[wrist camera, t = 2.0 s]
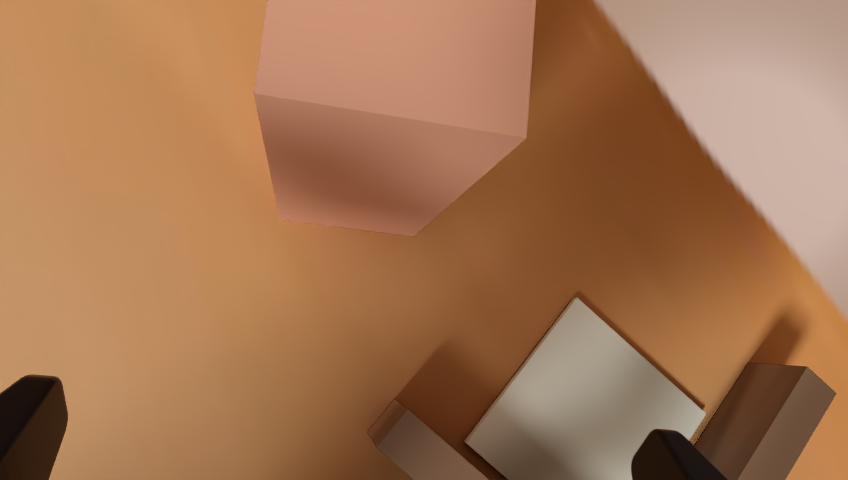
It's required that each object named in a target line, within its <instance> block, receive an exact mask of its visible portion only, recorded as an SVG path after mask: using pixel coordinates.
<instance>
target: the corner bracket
mask: <svg viewBox="0 0 848 480" xmlns="http://www.w3.org/2000/svg"><path fill="white" fill-rule="evenodd" d="M836 394H837V393H836V392H834V391H833V390H832V389H831V388H830V387H829V386H828V385H827V384H826V383H825V382H824V381H822V380H821V379H820V378H819V377H818V376H817V375H816V374H815V373H814V372H813V371H812V370H810V369H809V368H808V367H805V366H790V365H775V364H761V363H748V364H747V366H746V367H745V369H744V370H743V372H742V373H741V375H740V376H739V378H738V379H737V381H736V383H735V384H734V386H733V387H732V389H731V390H730V392H729V393H728V395H727V396H726V398H725V399H724V401H723V403H722V404H721V406H720V407H719V409H718V410H717V412H716V413H715V415H714V416H713V418H712V419H711V421H710V423H709V424H708V426H707V427H706V429H705V430H704V432H703V433H702V435H701V436H700V438H699V439H698V441H697V443H696V444H695V447H696V448H697V449H698V450H699V451H700V452H701V453H702V454H703V455H704V456H705V457H706V458H707V459H708V460H709V461H710V462H711V463H712V464H713V465H714V466H715V467H716V468H717V469H718V470H719V471H720V472H721V473H722V474H723V475H724V476H725V477H726V478H727V479H728V480H785V479H786V478H787V476H788V474H789V473H790V471H791V469H792V468H793V466H794V464H795V463H796V461H797V459H798V457H799V456H800V454H801V452H802V451H803V449H804V447H805V446H806V444H807V442H808V441H809V439H810V437H811V436H812V434H813V432H814V431H815V429H816V427H817V426H818V424H819V422H820V420H821V419H822V417H823V415H824V414H825V412H826V410H827V409H828V407H829V405H830V404H831V402H832V400H833V399H834V397H835V395H836ZM705 415H706V413H705V412H704V411H703V410H702V409H700V408H699V407H698V406H697V405H696V404H695V403H694V402H693V401H692V400H690V399H689V398H688V397H687V396H686V395H685V394H684V393H683V392H682V391H680V390H679V389H678V388H677V387H676V386H675V385H674V384H673V383H672V382H670V381H669V380H668V379H667V378H666V377H665V376H664V375H663V374H662V373H660V372H659V371H658V370H657V369H656V368H655V367H654V366H653V365H652V364H650V363H649V362H648V361H647V360H646V359H645V358H644V357H643V356H642V355H640V354H639V353H638V352H637V351H636V350H635V349H634V348H633V347H632V346H630V345H629V344H628V343H627V342H626V341H625V340H624V339H623V338H622V337H620V336H619V335H618V334H617V333H616V332H615V331H614V330H613V329H612V328H610V327H609V326H608V325H607V324H606V323H605V322H604V321H603V320H602V319H600V318H599V317H598V316H597V315H596V314H595V313H594V312H593V311H592V310H590V309H589V308H588V307H587V306H586V305H585V304H584V303H583V302H582V301H580V300H579V299H578V298H577V297H576V298H573V299H572V301H571V302H570V303H569V305H568V306H567V307H566V308H565V310H564V311H563V312H562V314H561V315H560V316H559V318H558V319H557V320H556V322H555V323H554V324H553V325H552V327H551V328H550V329H549V331H548V332H547V333H546V335H545V336H544V337H543V339H542V340H541V341H540V342H539V344H538V345H537V346H536V348H535V349H534V350H533V352H532V353H531V354H530V356H529V357H528V358H527V359H526V361H525V362H524V363H523V365H522V366H521V367H520V369H519V370H518V371H517V373H516V374H515V375H514V376H513V378H512V379H511V380H510V382H509V383H508V384H507V386H506V387H505V388H504V390H503V391H502V392H501V393H500V395H499V396H498V397H497V399H496V400H495V401H494V403H493V404H492V405H491V407H490V408H489V409H488V410H487V412H486V413H485V414H484V416H483V417H482V418H481V420H480V421H479V422H478V424H477V425H476V426H475V427H474V429H473V430H472V431H471V433H470V434H469V435H468V437H467V438H466V439H465V441H464V442H465V443H466V444H467V445H469V446H470V447H471V448H472V449H473V450H474V451H475V452H477V453H478V454H479V455H480V456H481V457H482V458H483V459H485V460H486V461H487V462H488V463H489V464H490V465H491V466H493V467H494V468H495V469H496V470H497V471H498V472H499V473H501V474H502V475H503V476H504V477H505V478H506V479H507V480H633V479H632V474H631V462H632V459H633V456H634V454H635V453H636V452H637V450H638V449H639V447H640V446H641V444H642V443H643V441H644V440H645V438H646V437H647V436H648V434H649V433H650V432H651V431H652V430H654V429H667V430H675V431H678V432H680V433H681V434H682V435H683V436H685V437H686V438H687V439H688V440H690V438H691V437H692V435H693V434H694V432H695V431H696V429H697V427H698V426H699V424H700V423H701V421H702V420H703V418H704V417H705ZM367 433H368V435H369V437H370V438H371V440H372V441H373V443H374V444H375V446H376V448H377V449H378V450H380V451H381V452H382V453H383V454H384V455H385V456H387V457H388V458H389V459H390V460H391V461H392V462H393V463H395V464H396V465H397V466H398V467H399V468H400V469H402V470H403V471H404V472H405V473H406V474H407V475H408V476H410V477H411V478H412V479H413V480H489V479H487V478H486V477H485V476H484V475H483V474H482V473H480V472H479V471H478V470H477V469H476V468H475V467H474V466H472V465H471V464H470V463H469V462H468V461H467V460H466V459H464V458H463V457H462V456H461V455H460V454H459V453H458V452H456V451H455V450H454V449H453V448H452V447H451V446H450V445H448V444H447V443H446V442H445V441H444V440H443V439H442V438H440V437H439V436H438V435H437V434H436V433H435V432H433V431H432V430H431V429H430V428H429V427H428V426H427V425H425V424H424V423H423V422H422V421H421V420H420V419H419V418H417V417H416V416H415V415H414V414H413V413H412V412H411V411H409V410H408V409H407V408H406V407H404V406H403V405H402V404H400V403H399V402H397V401H396V400H395V399H394V400H393V401H392V402H391V403H390V405H389V406H388V407H387V408H386V410H385V411H384V412H383V413H382V414H381V416H380V417H379V418H378V419H377V421H376V422H375V423H374V424H373V426H372V427H371V428H370V429H369V430H368V432H367Z"/></svg>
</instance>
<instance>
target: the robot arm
mask: <svg viewBox="0 0 848 480" xmlns="http://www.w3.org/2000/svg"><path fill="white" fill-rule="evenodd" d="M67 422H68V411H67V406H66V401H65V396H64V391H63V385H62V382H61V380H60V379H59V378H58V377H55V376H44V375H27V376H24V377H22V378H21V379H19V380H18V381H16V382H15V383H14V384H12V385H11V386H10V387H8V388H7V389H6V390H4V391H3V392H2V393H0V480H49V477H50V474H51V471H52V468H53V465H54V462H55V460H56V457H57V454H58V451H59V448H60V445H61V442H62V440H63V437H64V434H65V431H66V427H67ZM631 474H632V479H633V480H728V479H727V478H726V477H725V476H724V475H723V474H722V473H721V472H720V471H719V470H718V469H717V468H716V467H715V466H714V465H713V464H712V463H711V462H710V461H709V460H708V459H707V458H706V457H705V456H704V455H703V454H702V453H701V452H700V451H699V450H698V449H697V448H696V447H695V446H694V445H693V444H692V443H691V442H690V441H689V440H688V439H687V438H686V437H685V436H683V435H682V434H681V433H680V432H678V431H675V430H667V429H654V430H652V431H651V432H650V433H649V434H648V436H647V437H646V438H645V440H644V441H643V443H642V444H641V446H640V447H639V449H638V450H637V452H636V453H635V454H634V456H633V459H632V462H631Z"/></svg>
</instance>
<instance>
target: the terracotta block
mask: <svg viewBox="0 0 848 480" xmlns="http://www.w3.org/2000/svg"><path fill="white" fill-rule="evenodd" d="M535 10H536V0H268V3H267V10H266V16H265V23H264V29H263V36H262V43H261V49H260V56H259V62H258V69H257V75H256V82H255V89H254V97H255V101H256V106H257V111H258V116H259V121H260V126H261V130H262V135H263V140H264V145H265V150H266V155H267V159H268V164H269V169H270V174H271V179H272V184H273V188H274V193H275V198H276V203H277V208H278V213H279V218H280V220H288V221H295V222H303V223H311V224H319V225H326V226H334V227H342V228H350V229H358V230H365V231H373V232H381V233H389V234H397V235H404V236H412V237H414V236H415V235H416V234H417V233H418V232H419V231H420V230H422V229H423V228H424V227H425V226H426V225H427V224H428V223H430V222H431V221H432V220H433V219H434V218H435V217H436V216H438V215H439V214H440V213H441V212H442V211H443V210H445V209H446V208H447V207H448V206H449V205H450V204H451V203H453V202H454V201H455V200H456V199H457V198H458V197H459V196H461V195H462V194H463V193H464V192H465V191H466V190H467V189H469V188H470V187H471V186H472V185H473V184H474V183H476V182H477V181H478V180H479V179H480V178H481V177H482V176H484V175H485V174H486V173H487V172H488V171H489V170H490V169H492V168H493V167H494V166H495V165H496V164H497V163H498V162H500V161H501V160H502V159H503V158H504V157H505V156H507V155H508V154H509V153H510V152H511V151H512V150H513V149H515V148H516V147H517V146H518V145H519V144H520V143H521V142H523V141H524V140H525V139H526V138H527V127H528V112H529V97H530V83H531V68H532V54H533V39H534V25H535Z"/></svg>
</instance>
